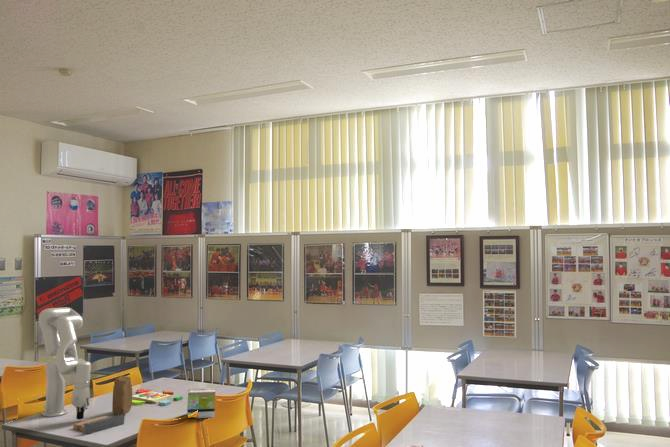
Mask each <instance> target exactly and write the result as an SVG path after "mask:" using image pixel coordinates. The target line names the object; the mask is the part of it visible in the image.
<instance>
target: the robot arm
mask: <svg viewBox="0 0 670 447" xmlns="http://www.w3.org/2000/svg"><path fill="white" fill-rule="evenodd" d="M83 320H84V319H83V317H82V316H81V315H80V313H79V312H77V311H76V310H74V309H73V308H72V307H67V306H65V307H52V308H51V307H50V308H45V309H43V310H41V312H40V313H39V314H38V324H39V328H40V330H41V332H42V335H43V343H44V348H45V349H44V350H45V351H46V354H47V356H51V357H53V358H50V359H48V360H46V363H45V373H46V389H45V393H46V394H45V405H44V406H43V409H44V411H43V412H42V413H41V415H42V416H43V417H47V418H49V417H59V416H63V415H65V414H67V413H68V410H67V409H65V395H66V394H65V393H66V380H65V378H64V376H67V375H75V376H74V386H73V389H72V394H71V405H72V406H74V408H75V409H76V410H75V411H76V417H75V419H76V420H81V419H84V416H85V415H84V414H85V411H86V410H87V409H88V406H90V403H91V402H90V401H91V400H90V399H91V395H90V394H91V393H90V391H91V390H90V387H91V386H90V385H91V384H90V383H91V370H92V369H91V367H92V364H91V362H90V361H87V360H85V359H83V358H78V357H79V356H78V352H77V350H78V349H77V346H76V343H77V342H78V337H77V334H76V331H75V330H80V329H82V327H83V325H84V321H83Z"/></svg>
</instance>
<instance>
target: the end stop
mask: <svg viewBox="0 0 670 447" xmlns="http://www.w3.org/2000/svg"><path fill="white" fill-rule="evenodd" d="M125 414H126V413H125ZM125 414H115V415H111V416H108V417H107V418H103V419H100V420H96V421H92V422H88V423H85V424H84V432H83V434H84V435H90V434H94V433H97V432H100V431H103V430H108V429H111V428H115V427H118V426H121V425H124V424H125ZM93 432H94V433H93Z"/></svg>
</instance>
